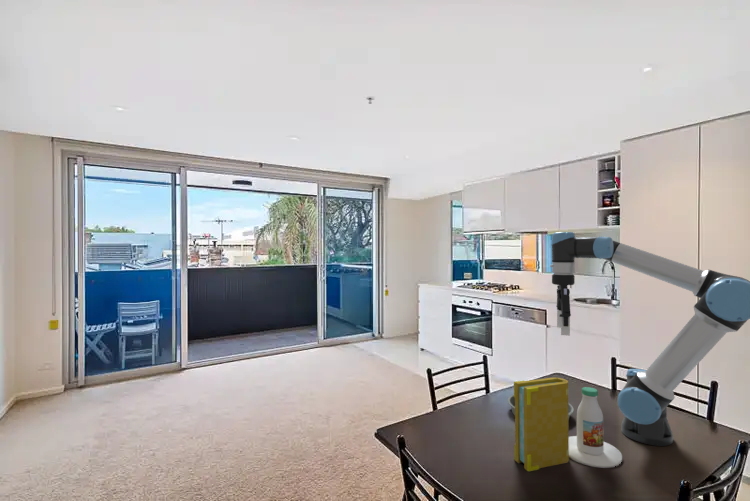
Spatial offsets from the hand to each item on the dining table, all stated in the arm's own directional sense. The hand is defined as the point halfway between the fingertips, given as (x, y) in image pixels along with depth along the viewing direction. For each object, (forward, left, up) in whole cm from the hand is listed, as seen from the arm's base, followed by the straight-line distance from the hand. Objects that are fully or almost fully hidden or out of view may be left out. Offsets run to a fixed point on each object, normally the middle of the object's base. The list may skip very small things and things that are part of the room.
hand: (563, 331), depth 145 cm
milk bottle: (-7, +15, -36) cm, 39 cm away
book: (+7, +26, -37) cm, 45 cm away
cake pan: (+8, -11, -37) cm, 39 cm away
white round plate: (-7, +15, -36) cm, 40 cm away
